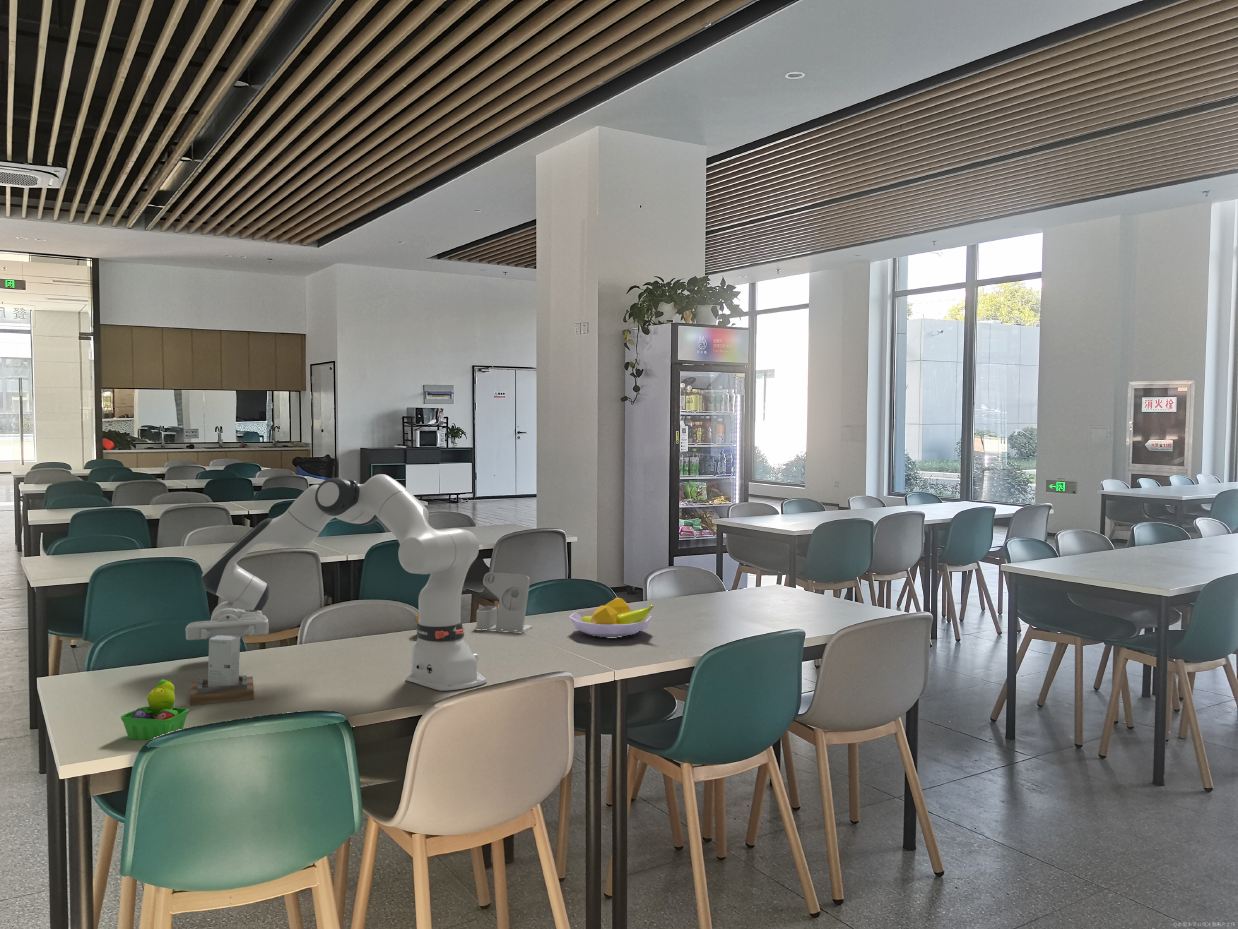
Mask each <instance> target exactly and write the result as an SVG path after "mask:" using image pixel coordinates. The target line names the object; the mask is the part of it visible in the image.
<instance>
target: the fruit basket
mask: <svg viewBox="0 0 1238 929" xmlns="http://www.w3.org/2000/svg"><path fill="white" fill-rule="evenodd" d="M171 681H172V680H170V679H160V680H159V681H158V682H157V683H156V685H155V686H154V688H152V689H151V690H150V692H149V693H148V694H147V696H146V700H147V703H148V706H142V707H138V708H136V709H134V710H132V711H129V712H127V713H124V714H122V715H120V718H121V722H123V726H124V728H125V731H126V734H127V735H126V736H127V738H128V739H129V740H141V741H151V740H150V739H153V738H154V737H157V736H160V735H162V734H166V733H168V732H171V731H176V730H178V729H183V730H184V727H185V723H186V720H187V715H189V710H190V709H189V708H182V707H174V704H175V701H176V696H175V685H174V684H173V683H172V682H171Z"/></svg>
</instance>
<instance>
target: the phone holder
mask: <svg viewBox="0 0 1238 929" xmlns="http://www.w3.org/2000/svg"><path fill="white" fill-rule="evenodd" d="M490 576H493V577H494V581H493V582H489V580H488V579H489V578H490ZM482 583H483V586H484V587H486V588H487V590H489V591H490V592H491V593H492V594H493V595H494V596H495V597H497V599H498V600H499V601H498V602H499V603H498V606H496V605H485V606H483V607H481V608H478V609H477V610H476V627H474V628H476V629H481V630H480V631H482V629H487V630H496V631H508V632H524V631H525V630H528V629H529V628H531V627H532V628H533V626H532V625H530V624H525V619H526V613H527V605H528V598H529V590H530V583H531V579H530V577H529V576H528V575H526V574H524V573H510V572H509V573H508V572H491V571H489V572H487V573H485V574H484V576H483V579H482ZM513 590H517V591H518V594H517V597H513V596H512V592H513ZM532 628H531V629H532ZM501 629H503V630H501ZM514 630H517V631H514ZM528 631H529V630H528ZM524 633H525V632H524Z"/></svg>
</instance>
